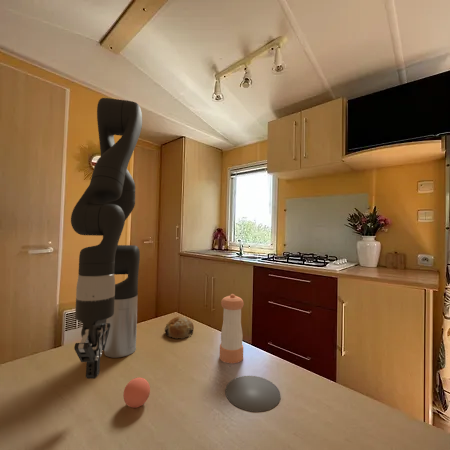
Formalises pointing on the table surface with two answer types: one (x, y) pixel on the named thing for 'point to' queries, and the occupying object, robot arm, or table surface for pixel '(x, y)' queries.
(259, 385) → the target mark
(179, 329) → the bread roll
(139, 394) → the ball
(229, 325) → the pepper shaker
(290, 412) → the table surface
